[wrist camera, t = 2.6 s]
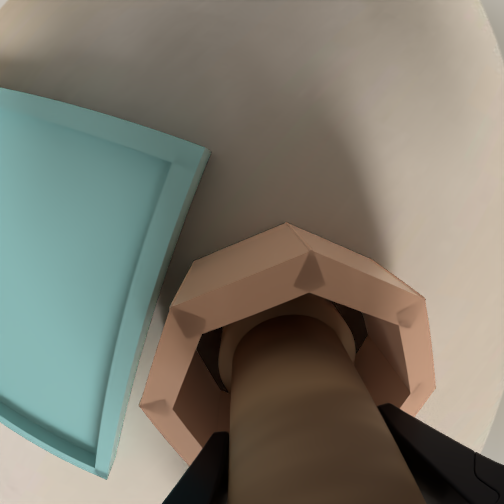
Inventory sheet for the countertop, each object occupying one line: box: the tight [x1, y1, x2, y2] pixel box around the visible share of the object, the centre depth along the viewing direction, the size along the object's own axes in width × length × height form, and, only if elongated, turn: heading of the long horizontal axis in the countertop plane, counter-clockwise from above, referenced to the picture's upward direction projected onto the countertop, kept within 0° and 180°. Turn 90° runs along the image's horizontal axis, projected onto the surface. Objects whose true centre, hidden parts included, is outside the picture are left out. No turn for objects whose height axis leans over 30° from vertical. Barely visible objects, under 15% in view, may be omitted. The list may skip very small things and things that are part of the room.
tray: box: [0, 87, 211, 480], centre depth 12 cm, size 12×18×2 cm, turn 158°
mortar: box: [139, 222, 436, 466], centre depth 11 cm, size 9×9×4 cm
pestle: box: [219, 292, 426, 504], centre depth 8 cm, size 5×5×10 cm
